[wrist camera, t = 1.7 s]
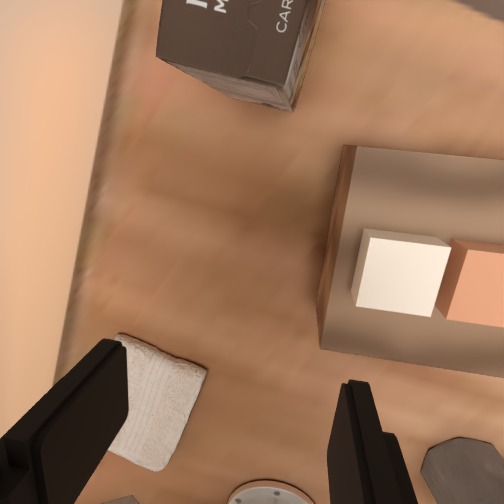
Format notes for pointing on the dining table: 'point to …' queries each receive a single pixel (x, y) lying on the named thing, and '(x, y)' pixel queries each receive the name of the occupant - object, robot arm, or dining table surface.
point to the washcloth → (155, 403)
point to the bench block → (412, 222)
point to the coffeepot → (464, 472)
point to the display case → (124, 501)
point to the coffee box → (242, 45)
